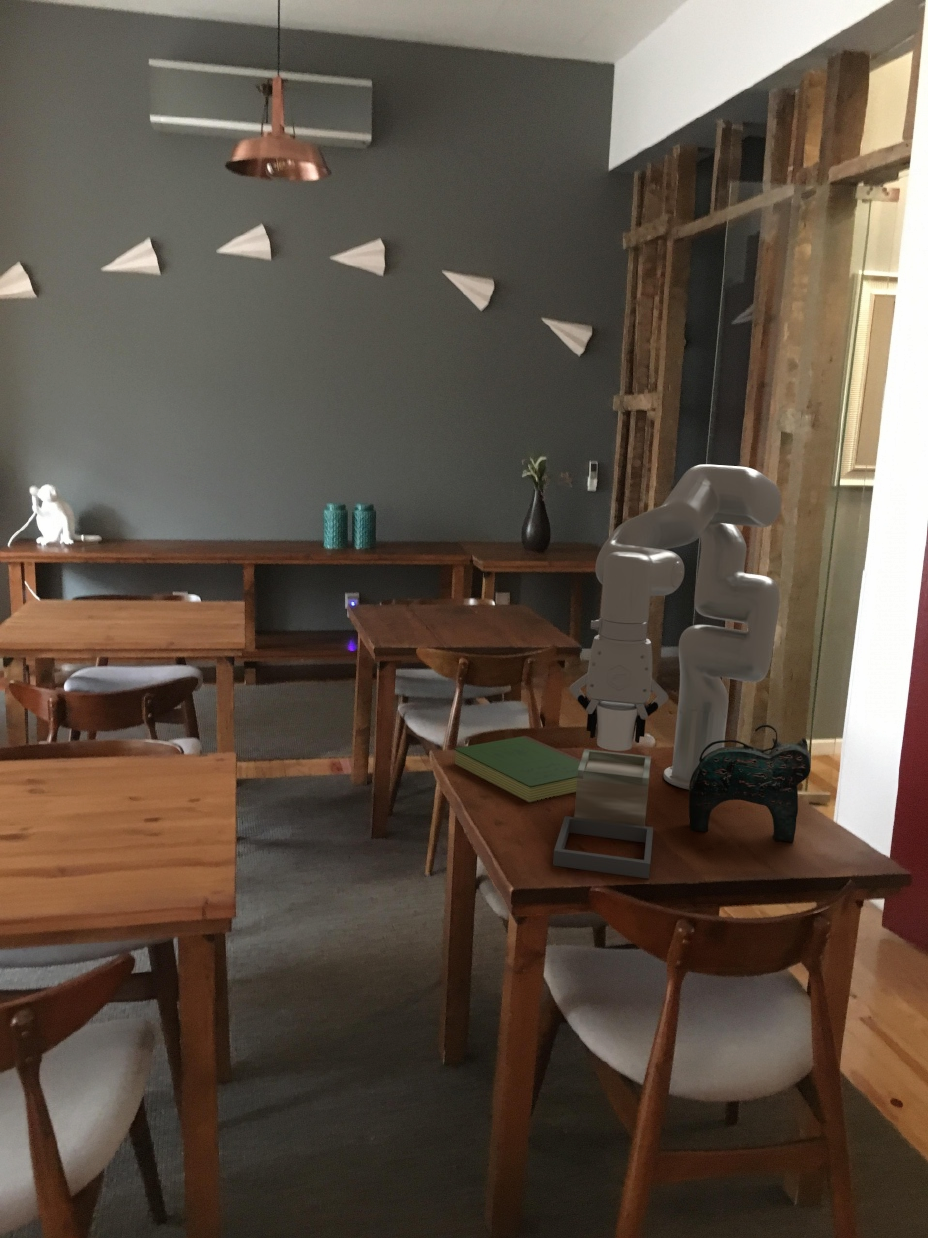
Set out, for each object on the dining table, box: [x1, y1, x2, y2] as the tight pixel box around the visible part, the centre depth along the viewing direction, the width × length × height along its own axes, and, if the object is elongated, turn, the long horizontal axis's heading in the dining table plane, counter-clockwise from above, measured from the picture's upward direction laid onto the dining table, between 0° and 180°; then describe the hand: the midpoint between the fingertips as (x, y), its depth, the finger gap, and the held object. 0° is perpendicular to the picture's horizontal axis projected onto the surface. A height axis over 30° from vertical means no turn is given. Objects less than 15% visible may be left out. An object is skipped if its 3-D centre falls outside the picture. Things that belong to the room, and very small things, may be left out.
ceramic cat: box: [688, 724, 812, 843], centre depth 175 cm, size 20×6×20 cm, turn 78°
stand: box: [573, 748, 652, 826], centre depth 180 cm, size 12×12×10 cm
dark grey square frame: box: [552, 815, 654, 880], centre depth 166 cm, size 15×15×2 cm
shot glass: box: [596, 701, 639, 752], centre depth 164 cm, size 7×7×7 cm
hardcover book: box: [453, 735, 581, 803], centre depth 201 cm, size 25×19×4 cm
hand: (615, 737), depth 165 cm, fingers closed on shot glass, 6 cm apart
